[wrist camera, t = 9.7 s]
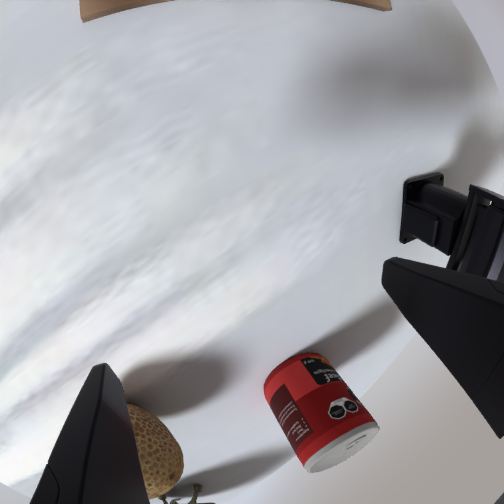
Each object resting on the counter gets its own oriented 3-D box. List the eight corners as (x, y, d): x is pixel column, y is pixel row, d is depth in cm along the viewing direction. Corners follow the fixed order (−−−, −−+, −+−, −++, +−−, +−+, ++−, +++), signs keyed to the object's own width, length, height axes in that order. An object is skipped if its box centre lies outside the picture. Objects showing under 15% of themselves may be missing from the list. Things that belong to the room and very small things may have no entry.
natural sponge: (135, 438, 27) (151, 513, 19) (68, 411, 22) (71, 498, 14) (186, 404, 27) (215, 488, 18) (115, 369, 22) (127, 474, 13)
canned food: (332, 367, 33) (384, 433, 24) (279, 404, 33) (321, 475, 24) (311, 338, 29) (374, 418, 20) (248, 383, 28) (294, 471, 19)
